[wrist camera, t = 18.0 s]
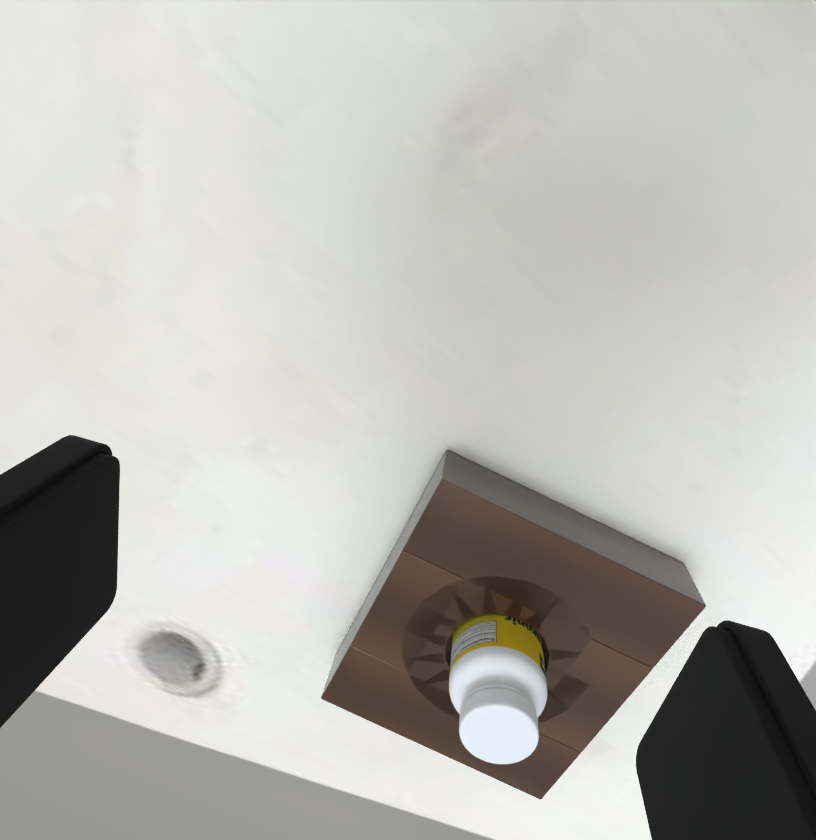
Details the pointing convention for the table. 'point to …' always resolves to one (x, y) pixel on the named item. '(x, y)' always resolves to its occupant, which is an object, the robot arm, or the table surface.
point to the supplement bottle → (498, 687)
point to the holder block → (510, 596)
